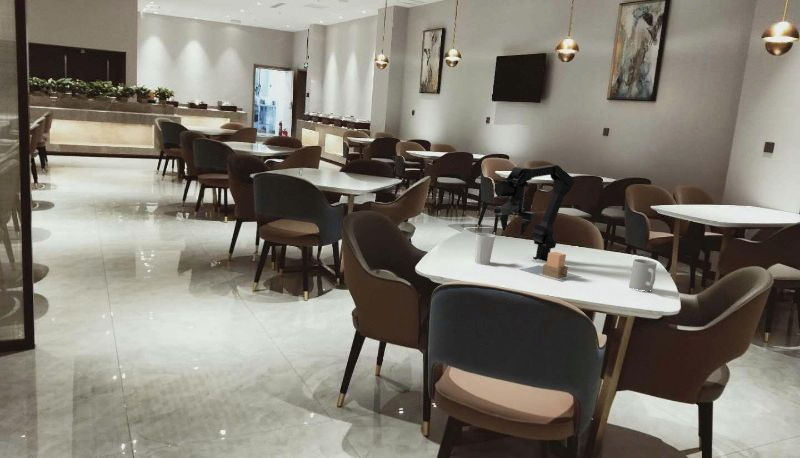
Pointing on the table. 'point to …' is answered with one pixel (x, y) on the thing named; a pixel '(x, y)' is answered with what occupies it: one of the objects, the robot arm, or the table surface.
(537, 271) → the plate
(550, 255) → the top block
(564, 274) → the base block
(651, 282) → the mug
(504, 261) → the table surface
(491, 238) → the cup
